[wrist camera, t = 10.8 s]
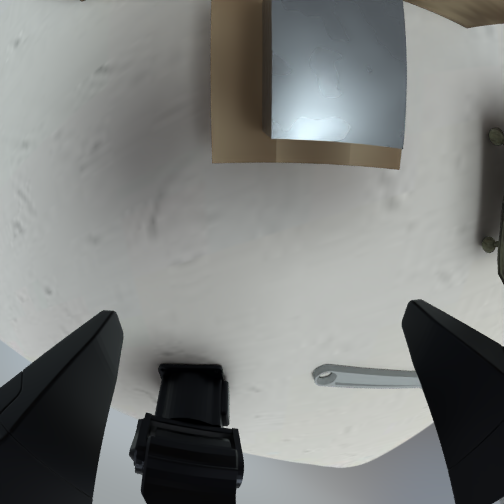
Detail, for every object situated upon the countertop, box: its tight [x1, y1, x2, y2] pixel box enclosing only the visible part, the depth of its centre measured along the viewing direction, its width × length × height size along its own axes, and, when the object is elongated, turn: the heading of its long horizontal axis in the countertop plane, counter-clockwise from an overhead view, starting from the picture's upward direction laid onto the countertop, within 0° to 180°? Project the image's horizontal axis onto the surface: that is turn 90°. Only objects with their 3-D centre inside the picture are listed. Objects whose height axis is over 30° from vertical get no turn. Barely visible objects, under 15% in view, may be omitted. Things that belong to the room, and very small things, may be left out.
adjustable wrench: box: [313, 364, 422, 389], centre depth 30 cm, size 25×6×2 cm, turn 68°
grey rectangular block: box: [262, 0, 407, 149], centre depth 12 cm, size 5×7×8 cm
